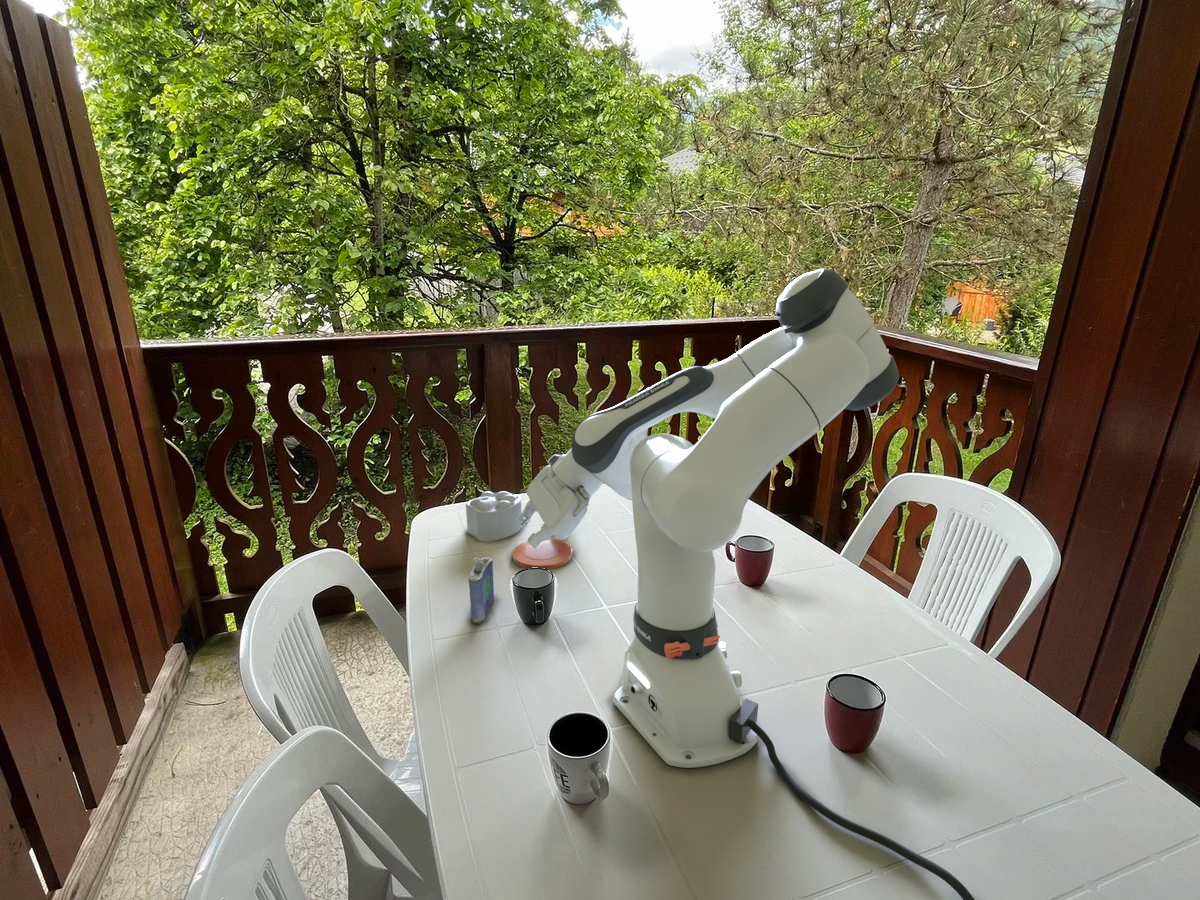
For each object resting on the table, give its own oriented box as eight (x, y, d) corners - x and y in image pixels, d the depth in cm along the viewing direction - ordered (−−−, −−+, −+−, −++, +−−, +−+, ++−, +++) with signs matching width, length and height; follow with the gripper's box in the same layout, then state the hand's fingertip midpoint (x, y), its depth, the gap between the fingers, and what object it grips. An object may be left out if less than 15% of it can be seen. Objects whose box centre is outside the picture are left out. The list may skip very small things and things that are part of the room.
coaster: (579, 564, 136) (579, 560, 136) (519, 574, 132) (519, 569, 132) (562, 539, 148) (562, 535, 148) (507, 547, 144) (507, 543, 144)
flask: (482, 624, 115) (479, 571, 111) (467, 623, 115) (462, 570, 112) (496, 598, 123) (493, 548, 120) (482, 597, 124) (478, 547, 120)
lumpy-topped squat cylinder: (462, 529, 153) (460, 496, 151) (508, 515, 161) (507, 483, 159) (484, 544, 146) (482, 509, 143) (531, 528, 154) (530, 495, 151)
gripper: (605, 509, 110) (551, 568, 110) (572, 471, 128) (526, 521, 128) (580, 487, 107) (524, 548, 107) (550, 452, 125) (503, 503, 125)
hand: (525, 533), depth 118 cm, fingers open, 8 cm apart
